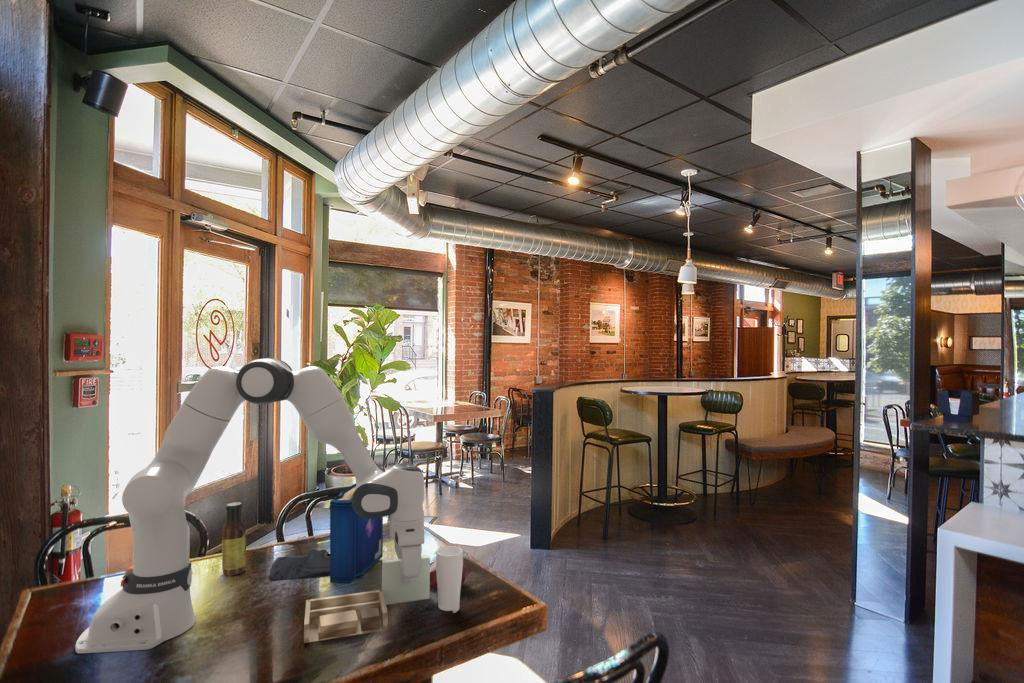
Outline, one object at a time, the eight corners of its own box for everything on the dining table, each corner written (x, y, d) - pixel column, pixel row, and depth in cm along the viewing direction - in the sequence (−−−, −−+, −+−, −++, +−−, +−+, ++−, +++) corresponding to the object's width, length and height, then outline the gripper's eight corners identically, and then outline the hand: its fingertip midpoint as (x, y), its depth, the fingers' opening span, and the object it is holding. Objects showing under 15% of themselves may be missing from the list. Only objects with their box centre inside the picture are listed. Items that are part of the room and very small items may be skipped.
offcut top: (320, 633, 117) (320, 626, 117) (319, 622, 122) (319, 616, 122) (357, 626, 121) (358, 619, 121) (355, 616, 125) (355, 609, 125)
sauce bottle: (250, 571, 156) (251, 503, 156) (229, 578, 150) (230, 508, 150) (237, 565, 159) (239, 499, 159) (216, 573, 154) (218, 504, 154)
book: (349, 590, 144) (350, 498, 145) (325, 587, 146) (327, 496, 146) (383, 559, 166) (384, 479, 166) (362, 557, 167) (363, 477, 167)
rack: (303, 648, 116) (304, 624, 116) (305, 621, 128) (306, 599, 128) (387, 634, 122) (387, 612, 122) (382, 610, 133) (382, 589, 134)
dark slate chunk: (275, 562, 163) (276, 547, 163) (350, 556, 169) (350, 541, 169) (265, 584, 148) (266, 566, 148) (347, 576, 154) (348, 560, 154)
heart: (419, 577, 151) (426, 597, 142) (421, 552, 150) (428, 570, 141) (460, 573, 155) (469, 592, 146) (462, 548, 154) (471, 565, 145)
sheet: (382, 606, 134) (382, 563, 134) (381, 603, 135) (382, 560, 135) (429, 600, 138) (430, 557, 138) (428, 597, 139) (429, 555, 139)
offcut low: (318, 639, 118) (318, 632, 118) (318, 628, 122) (318, 621, 122) (355, 633, 120) (355, 626, 120) (354, 622, 125) (354, 616, 125)
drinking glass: (451, 601, 139) (452, 543, 139) (467, 610, 134) (468, 551, 134) (429, 609, 134) (430, 550, 134) (446, 619, 129) (447, 558, 129)
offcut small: (361, 631, 121) (361, 618, 121) (360, 622, 125) (360, 610, 125) (379, 628, 123) (379, 615, 123) (377, 620, 126) (378, 607, 126)
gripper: (389, 516, 145) (388, 566, 145) (399, 542, 126) (398, 600, 126) (412, 514, 148) (411, 563, 147) (425, 539, 128) (424, 596, 128)
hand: (405, 581), depth 136 cm, fingers closed on sheet, 2 cm apart
